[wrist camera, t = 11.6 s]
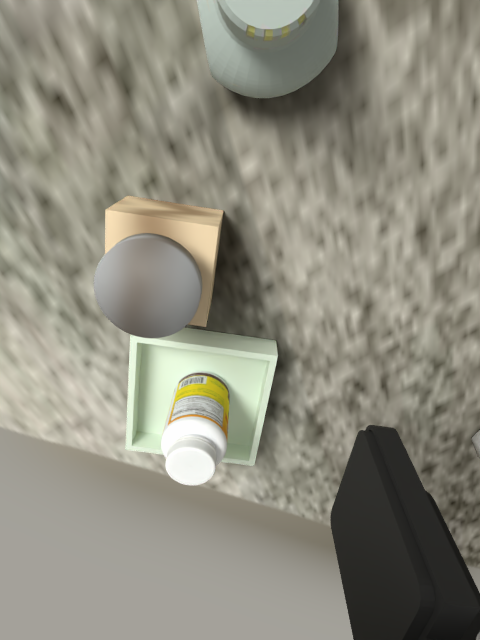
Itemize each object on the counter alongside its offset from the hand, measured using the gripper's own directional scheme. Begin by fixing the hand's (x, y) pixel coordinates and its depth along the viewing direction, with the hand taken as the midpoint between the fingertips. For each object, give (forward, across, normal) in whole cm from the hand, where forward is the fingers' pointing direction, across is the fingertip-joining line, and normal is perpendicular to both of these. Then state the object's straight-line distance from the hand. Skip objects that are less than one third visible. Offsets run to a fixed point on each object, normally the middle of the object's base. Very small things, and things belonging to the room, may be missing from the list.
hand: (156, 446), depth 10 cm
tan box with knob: (+28, +4, +4) cm, 29 cm away
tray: (+28, 0, +18) cm, 34 cm away
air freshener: (+29, -1, -14) cm, 32 cm away
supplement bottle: (+28, 0, +18) cm, 33 cm away
